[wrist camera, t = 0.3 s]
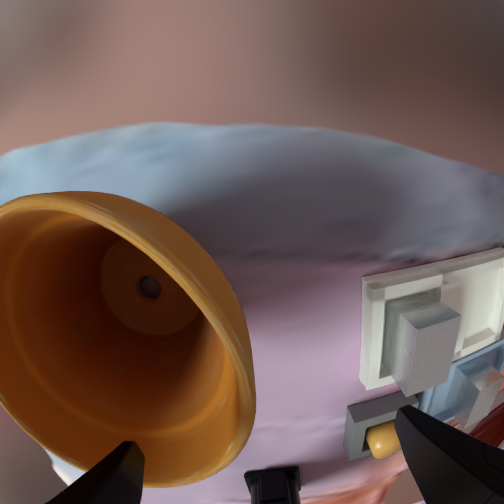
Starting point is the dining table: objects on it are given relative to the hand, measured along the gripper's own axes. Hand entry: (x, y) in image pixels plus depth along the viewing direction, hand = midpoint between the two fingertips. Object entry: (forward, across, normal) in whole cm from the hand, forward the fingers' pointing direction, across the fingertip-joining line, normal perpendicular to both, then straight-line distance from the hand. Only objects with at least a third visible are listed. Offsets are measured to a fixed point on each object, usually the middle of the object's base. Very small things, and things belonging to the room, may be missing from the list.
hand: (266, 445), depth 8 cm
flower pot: (+14, +7, -2) cm, 16 cm away
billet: (+14, -22, +16) cm, 30 cm away
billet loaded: (+13, -12, +5) cm, 18 cm away
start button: (+13, -11, +17) cm, 24 cm away
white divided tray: (+14, -17, +5) cm, 22 cm away
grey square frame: (+14, -11, +17) cm, 25 cm away
